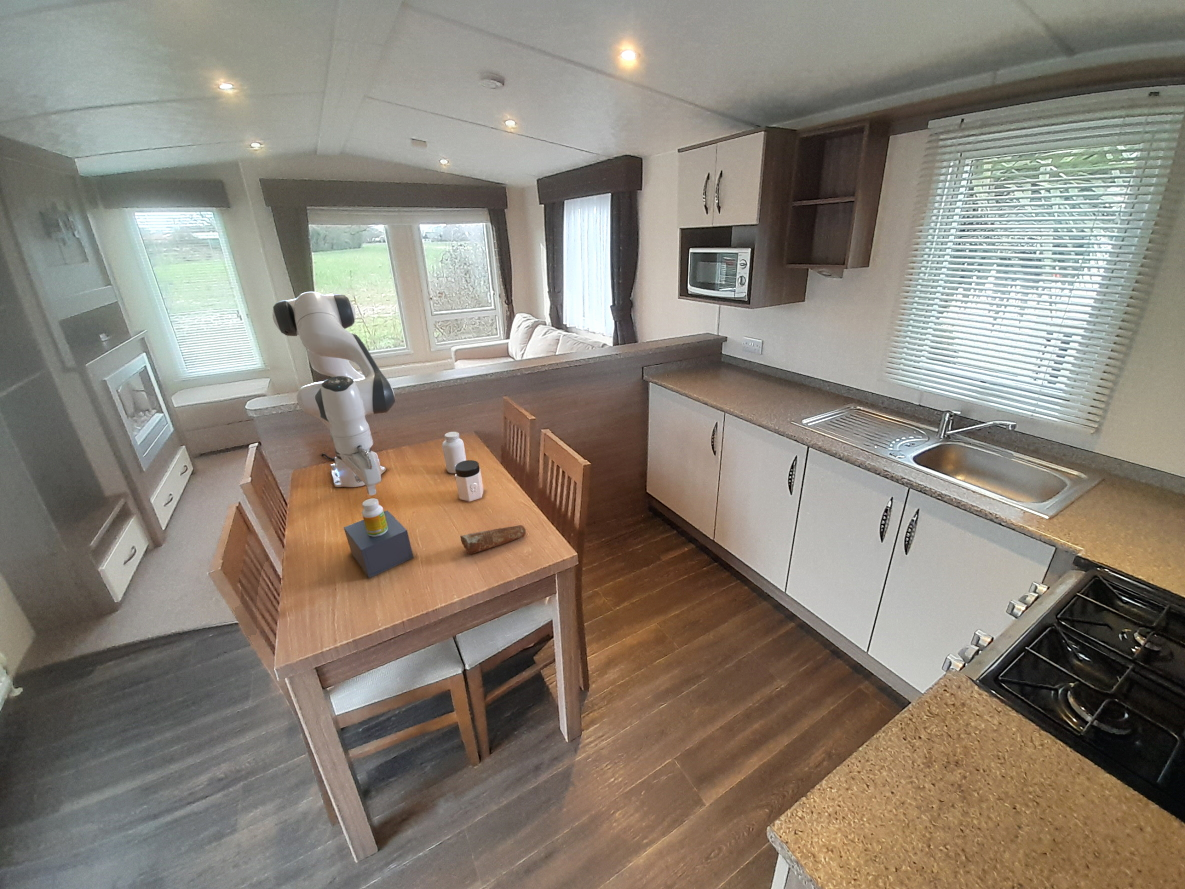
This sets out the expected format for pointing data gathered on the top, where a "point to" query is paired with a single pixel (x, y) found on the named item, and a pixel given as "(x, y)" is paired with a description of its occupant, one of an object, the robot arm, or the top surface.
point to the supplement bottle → (374, 518)
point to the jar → (469, 480)
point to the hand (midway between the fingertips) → (365, 487)
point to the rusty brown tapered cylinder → (491, 538)
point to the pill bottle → (453, 451)
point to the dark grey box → (379, 546)
